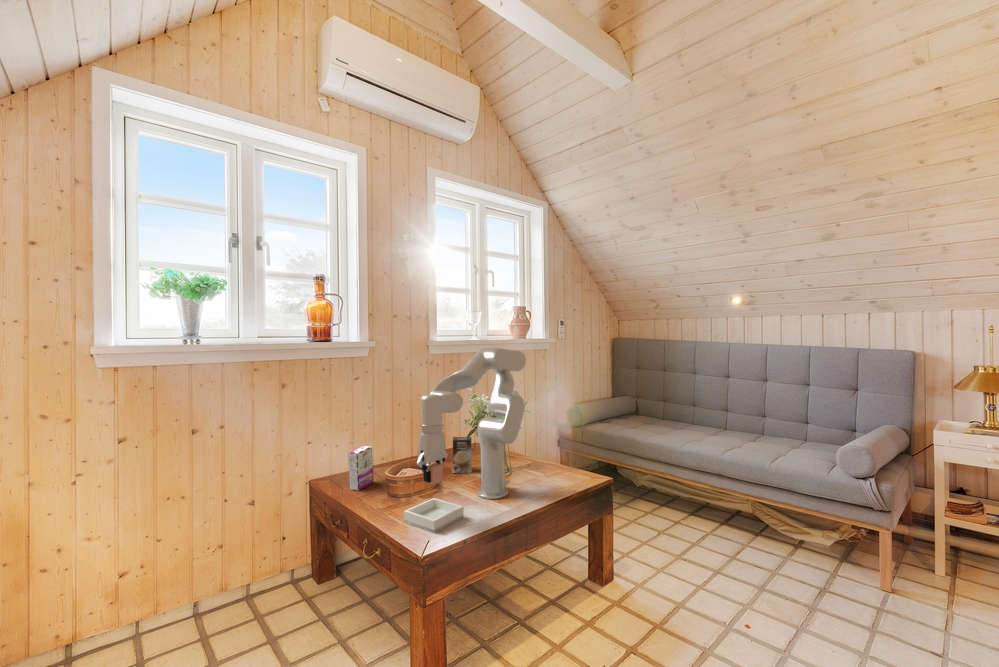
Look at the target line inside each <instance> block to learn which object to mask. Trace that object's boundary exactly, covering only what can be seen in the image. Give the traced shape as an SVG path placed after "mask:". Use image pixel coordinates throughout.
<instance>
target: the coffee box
mask: <svg viewBox="0 0 999 667" xmlns="http://www.w3.org/2000/svg"><path fill="white" fill-rule="evenodd" d="M472 451H473V450H472V436H466V437H464V436H453V438H452V474H453V473H460V474H472V473H471V472H473V471H472V470H473V468H472V464H473V463H472V462H473V461H472V459H473V458H472V456H473V454H472V453H473V452H472Z"/></svg>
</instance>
